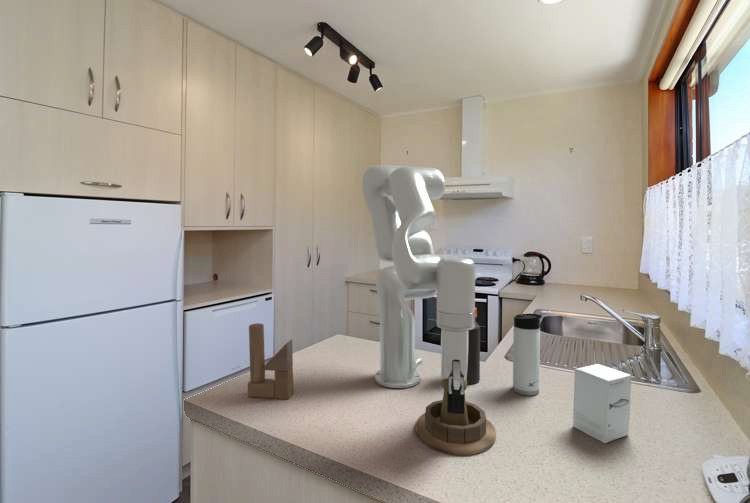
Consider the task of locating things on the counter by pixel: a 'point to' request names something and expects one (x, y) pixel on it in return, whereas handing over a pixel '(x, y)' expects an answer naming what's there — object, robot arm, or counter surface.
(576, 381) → the supplement box
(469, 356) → the bottle
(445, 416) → the olive knobbed pestle
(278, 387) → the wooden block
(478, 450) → the collar stand
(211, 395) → the counter surface
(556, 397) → the counter surface
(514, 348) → the travel mug
